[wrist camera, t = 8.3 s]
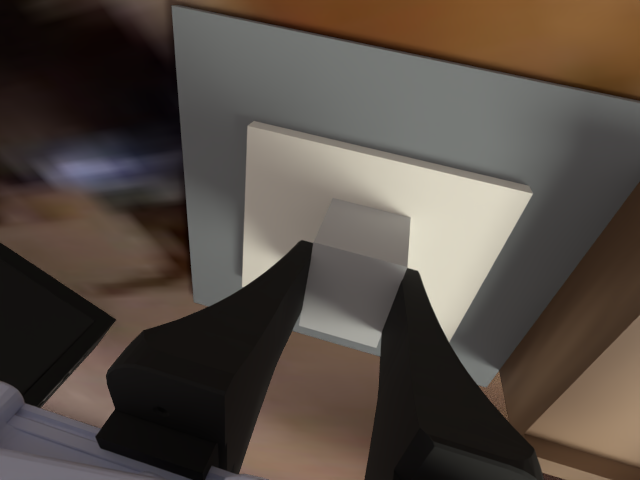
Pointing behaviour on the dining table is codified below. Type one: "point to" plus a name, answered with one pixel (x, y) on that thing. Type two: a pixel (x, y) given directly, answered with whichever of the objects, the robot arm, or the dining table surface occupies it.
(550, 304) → the walnut box
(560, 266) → the rubber mat
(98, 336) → the digital camera
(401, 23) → the dining table surface
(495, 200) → the cover plate
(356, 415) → the dining table surface
